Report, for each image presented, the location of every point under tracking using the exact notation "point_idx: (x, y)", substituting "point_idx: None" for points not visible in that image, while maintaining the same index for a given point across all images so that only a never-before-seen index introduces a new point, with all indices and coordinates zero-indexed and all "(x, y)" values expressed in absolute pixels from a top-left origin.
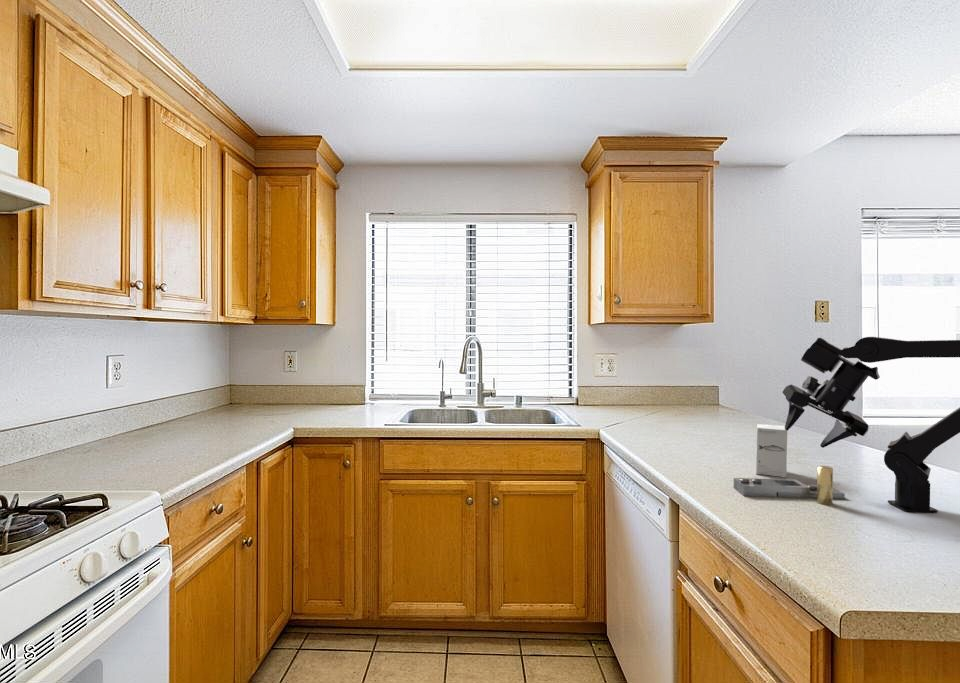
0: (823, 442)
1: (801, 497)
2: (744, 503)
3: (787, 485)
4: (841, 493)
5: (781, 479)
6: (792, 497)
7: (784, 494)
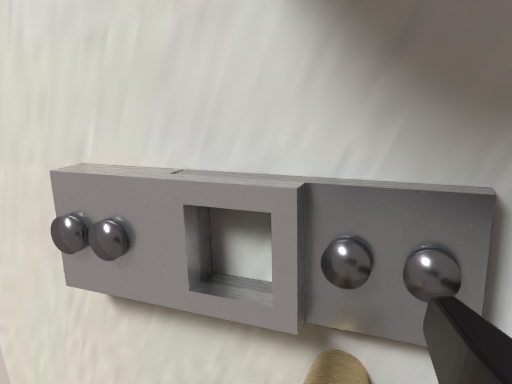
0: (448, 359)
1: None
2: (84, 337)
3: None
4: None
5: (224, 190)
6: None
7: None
